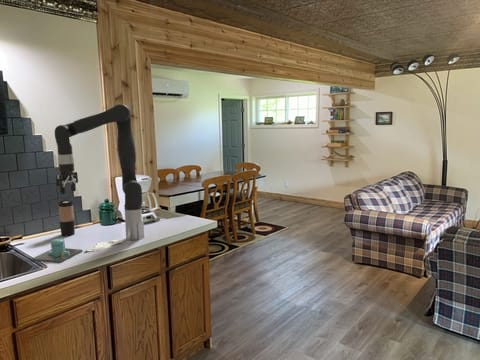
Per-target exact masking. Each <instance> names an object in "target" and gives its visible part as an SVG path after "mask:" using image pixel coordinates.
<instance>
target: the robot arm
mask: <svg viewBox="0 0 480 360" xmlns="http://www.w3.org/2000/svg"><path fill="white" fill-rule="evenodd" d="M111 123H116V127H117V140H116V141H117V143H116V144H117V146H116V147H117V154H118V155H117V156H118V160H119V165H120V169H121V182H122V183H121V184H122V185H121V187H122V192H123V194H124V224H125V225H124V226H125V239H126V241H127V240H128V241H137V240H138V241H139V240H142V239H143V238H144V237H145V226H144V223H145V222H144V220H143V215H142V213H143V211H142V205H143V204H142V203H143V191H142V190H143V189H142V185H141V184H140V183H139V182H138V180H137V175H136V163H137V153H136V145H135V141H134V140H135V139H134V137H133V131H132V113H131V109H130V107H129V106H128V105H126V104H124V103H119V104H116V105H114V106H113V107H110V108H109V109H107V110H105V111H102V112H100V113H96V114H93V115H92V114H91V115H89V116H85V117H82V118H80V119H76V120H74V121H72V122H69V123H67V124H60V125H58V126H56V127H55V128H54V138H55V143H56V146H57V165H58V172H59V173H60V174H56V175H55V181H56V182H55V183H56V184H55V185H56V187H57V188H58V187H59V190H60V191H59V192H60V194H61V195H65V194H66V184H67V183H70V190H71V192H76V189H77V187H76V185H77V184H78V183H79V178H78V171H75V161H74V155H73V145H72V144H71V143H70V142H71V140H70V138H71V137H74V136H76V135H79V134H83V133H86V132H89V131H91V130H95V129H97V128H100V127H101V126H104V125H107V124H111Z"/></svg>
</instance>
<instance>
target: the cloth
mask: <svg viewBox="0 0 480 360" xmlns="http://www.w3.org/2000/svg"><path fill="white" fill-rule="evenodd" d="M124 241H127V239H126V238H122V239H113V240H108V241H102V242H97V243H96V244H94V245H93V246H91V247H90V248H89V249H88V250H87V249H86V250H85V251H84V252H83V254H85V253H87V252H93V253H96V252H99V251H102V250H105V249H109V248H112V246H113V245H117V244H122V243H124ZM92 250H93V251H92Z"/></svg>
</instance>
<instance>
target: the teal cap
mask: <svg viewBox="0 0 480 360" xmlns="http://www.w3.org/2000/svg"><path fill="white" fill-rule="evenodd" d="M65 244H66V243H65V239H64V238H53V239H52V240H51V241H50V250H52V251H49V250H48V251H49V252H48V255H53V256H61V254H60V253H64V254H69V251H65V248H66V245H65Z"/></svg>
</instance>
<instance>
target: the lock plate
mask: <svg viewBox="0 0 480 360" xmlns="http://www.w3.org/2000/svg"><path fill="white" fill-rule="evenodd" d="M49 251H52V250H51V249H49V250H47V251H44V252H43V253H41V254H38V255H36V256H34V257H32V258H31V261H32V262H45V263H54V264H62V263H64V262H65V261H67V260H69V259H71V258H73V257H75V256H77V255H79V254H80V253H84V252H83V249H79V248H78V249H77V248H66V247H65V251H69V254H64V253H60V254H61V256H53V255H48V252H49Z"/></svg>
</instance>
